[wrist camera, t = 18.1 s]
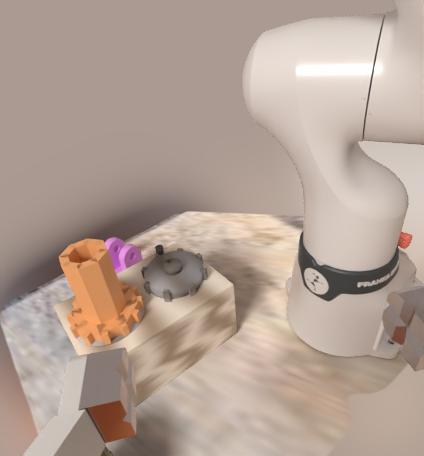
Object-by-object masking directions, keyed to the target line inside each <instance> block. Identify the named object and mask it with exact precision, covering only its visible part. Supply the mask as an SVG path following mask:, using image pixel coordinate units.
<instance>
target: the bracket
mask: <svg viewBox="0 0 424 456" xmlns="http://www.w3.org/2000/svg"><path fill="white" fill-rule="evenodd" d="M105 245H106V247H107V249H108V252H109V255H110V257H111V260H112V263H113V266H114V269H115V272H116V274H117V273H119V272H121V271H123V270H125V269H127V268H129V267H131V266H133V265H135V264H137V263H138V262H140V261H142V260H143V259H142V256H141V252H140V249H139V248H138V247H136V246H134V245H132V244H127V245H125V244H124V242H123V241H122V240H120V239H118V238H116V237H112V238H110V239H108V240H107V241H106V242H105Z"/></svg>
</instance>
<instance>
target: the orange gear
mask: <svg viewBox="0 0 424 456" xmlns="http://www.w3.org/2000/svg"><path fill="white" fill-rule="evenodd" d="M59 260H60V263H61V267H62V269H63V271H64V273H65V275H66V278H67V280H68V282H69V284H70V286H71V288H72V290H73V293H74V295H75V297H76V299H75V300H74V301H73V303H72V304H73V306H74V308H73V310H72V311H71V313H68V314H67V319H68V321H69V323H70V325H71V327H69V328H70V330H71V332H72V334H73V335H74V337H75V338H76V339H77V338H78V337H80V338H83V340H84V342H85V344H86V345H92V343H93V342H94V340H95V341H100V342H104V343H105V345H106V344H110V343H111V338H114V337H116V336H118V335H120V334H123V335H124V336H127V335H128V334H129V333H130V331H129V330H130V328H131V326H132V325H133V323H134V322H140V321H141V319H142V317H141V314H140V310H141V308H144V303H143V300H142V296H139V293H138V289H137V287H136V286H134V285H133V286H132V287H131V286H126V284H125V281H119V280H118V277H117V275H116V272H115V269H114V266H113V263H112V260H111V257H110V255H109V252H108V249H107V247H106V245H105V243H104V241H103V240H95V239H85V240H83V241H80V242H77V243H74V244H72V245H70V246H68V247H67V249H66V250H65V251H64V252H63V253H62V254H61V255H60V256H59Z"/></svg>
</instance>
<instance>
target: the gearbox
mask: <svg viewBox="0 0 424 456" xmlns="http://www.w3.org/2000/svg"><path fill="white" fill-rule="evenodd" d="M155 248H156V252H157V253H156V254H154V255H152V256H150V257H148V258H146V259H144V260H142V261H140V262H138V263H137V264H135V265H133V266H131V267H129V268H127V269H125V270H123V271H121V272H119V273H117V274H116V275H117V277H118V280H119V281H125V284H126V286H131V287H132V286H133V285H134V286H136V287H137V289H138V293H139V296H142V300H143V303H144V308H141V310H140V314H141V317H142V319H141V321H140V322H134V323H133V325H132V326H131V328H130V330H129V331H130V333H129V334H128V335H127V336H124V335H123V334H120V335H118V336H116V337H114V338H111V343H110V344H106V345H105V343H104V342H100V341H95V340H94V342H93V343H92V345H86V344H85V342H84V340H83V338H80V337H78V338H77V339H76V338H75V337H74V335H73V334H72V332H71V330H70V328H69V327H71V325H70V323H69V321H68V319H67V314H68V313H71V311H72V310H73V308H74V306H73V304H72V303H73V301H74V300H75V299H76V297H75V296H73V297H71V298H69V299H67V300H65V301H64V302H62V303H60V304H58V305H56V306H54V309H55V311H56V313H57V315H58V317H59V319H60V321H61V323H62V325H63V327H64V328H65V330H66V332H67V334H68V336H69V338H70V340H71V342H72V344H73V346H74V348H75V350H76V352H77V354H78V355H79V356H80V355H85V354H90V353H96V352H101V351H107V350H112V349H118V348H124V347H125V348H126V350H127V352H128V362H130V363H132V366H133V368H134V373H135V379H136V397H135V399H134V400H133V404H134V407H136V406H137V405H138V404H140V403H141V402H143V401H144V400H145V399H147V398H148V397H149V396H151V395H152V394H154V393H155V392H156V391H158V390H159V389H160V388H162V387H163V386H165V385H166V384H167V383H169V382H170V381H171V380H173V379H174V378H176V377H177V376H178V375H180V374H181V373H182V372H184V371H185V370H187V369H188V368H189V367H191V366H192V365H193V364H195V363H196V362H198V361H199V360H200V359H202V358H203V357H204V356H206V355H207V354H208V353H210V352H211V351H213V350H214V349H215V348H217V347H218V346H219V345H221V344H222V343H224V342H225V341H226V340H228V339H229V338H230V337H232V336H233V335H235V334H236V333H237V322H236V310H235V298H234V286H233V284H232V283H231V282H230V281H229V280H227V279H226V278H225V277H224V276H222V275H221V274H220V273H219V272H218V271H216V270H215V269H214V268H213V267H211V266H210V265H209V264H208V263H206V262H205V261H204V260H203V259H202V255H200V254H199V253H198V254H195V253H194V252H193V251H192V250H190V249H189V248H188V247H187V246H185V245H184V244H183V243H182V242H181V241H179V242H177V243H175V244H173V245H171V246H169V247H167V248H165V249H163V246H162V245H157V246H156V247H155Z"/></svg>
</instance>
